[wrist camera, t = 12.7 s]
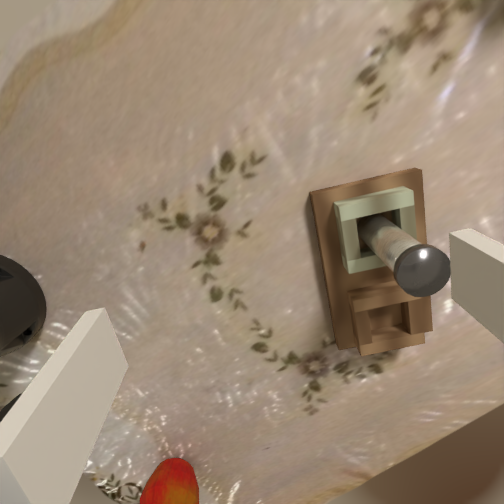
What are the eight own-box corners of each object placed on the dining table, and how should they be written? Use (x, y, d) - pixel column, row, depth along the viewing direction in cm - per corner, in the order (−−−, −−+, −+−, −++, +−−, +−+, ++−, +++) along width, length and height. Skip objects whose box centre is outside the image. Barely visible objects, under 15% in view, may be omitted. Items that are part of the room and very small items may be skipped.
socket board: (335, 342, 58) (344, 362, 53) (309, 192, 50) (316, 200, 45) (426, 323, 57) (443, 342, 53) (414, 167, 49) (433, 173, 44)
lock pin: (355, 248, 51) (400, 302, 36) (350, 213, 49) (395, 254, 35) (392, 240, 50) (452, 290, 36) (388, 204, 49) (450, 242, 34)
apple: (213, 468, 66) (208, 541, 55) (172, 490, 68) (159, 565, 56) (181, 435, 63) (168, 505, 52) (139, 459, 65) (118, 531, 54)
